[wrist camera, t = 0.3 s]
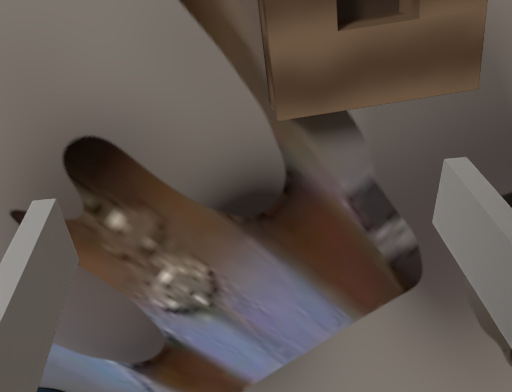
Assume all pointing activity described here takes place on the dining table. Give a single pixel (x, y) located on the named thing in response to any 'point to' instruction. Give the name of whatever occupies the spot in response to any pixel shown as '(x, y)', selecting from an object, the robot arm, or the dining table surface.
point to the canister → (46, 390)
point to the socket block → (368, 52)
